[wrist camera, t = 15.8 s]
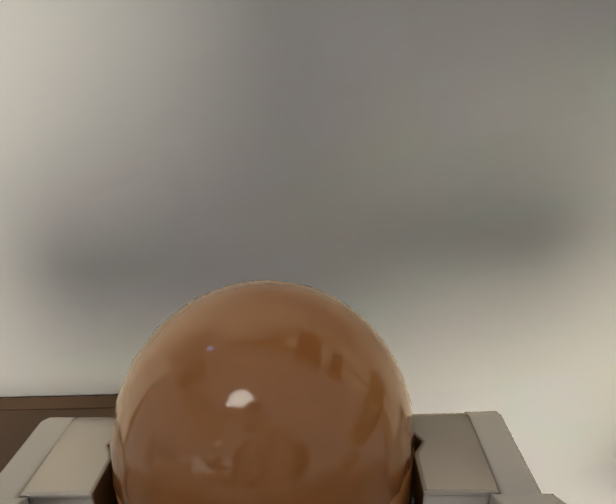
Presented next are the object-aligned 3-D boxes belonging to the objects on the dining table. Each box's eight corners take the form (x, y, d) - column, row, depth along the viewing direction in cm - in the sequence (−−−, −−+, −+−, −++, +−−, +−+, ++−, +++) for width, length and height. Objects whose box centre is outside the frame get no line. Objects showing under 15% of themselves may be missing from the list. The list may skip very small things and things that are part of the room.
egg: (387, 498, 11) (429, 767, 7) (192, 500, 11) (113, 762, 7) (395, 236, 8) (464, 398, 4) (148, 243, 9) (-7, 405, 5)
